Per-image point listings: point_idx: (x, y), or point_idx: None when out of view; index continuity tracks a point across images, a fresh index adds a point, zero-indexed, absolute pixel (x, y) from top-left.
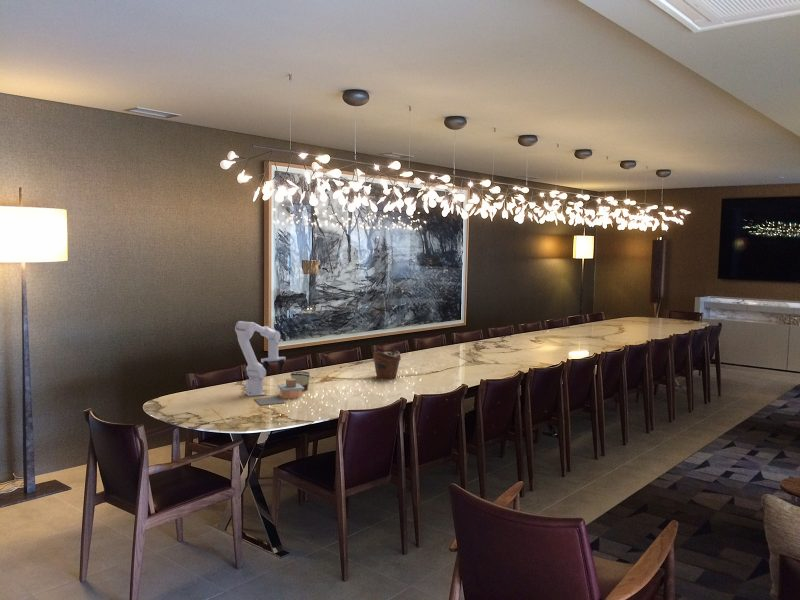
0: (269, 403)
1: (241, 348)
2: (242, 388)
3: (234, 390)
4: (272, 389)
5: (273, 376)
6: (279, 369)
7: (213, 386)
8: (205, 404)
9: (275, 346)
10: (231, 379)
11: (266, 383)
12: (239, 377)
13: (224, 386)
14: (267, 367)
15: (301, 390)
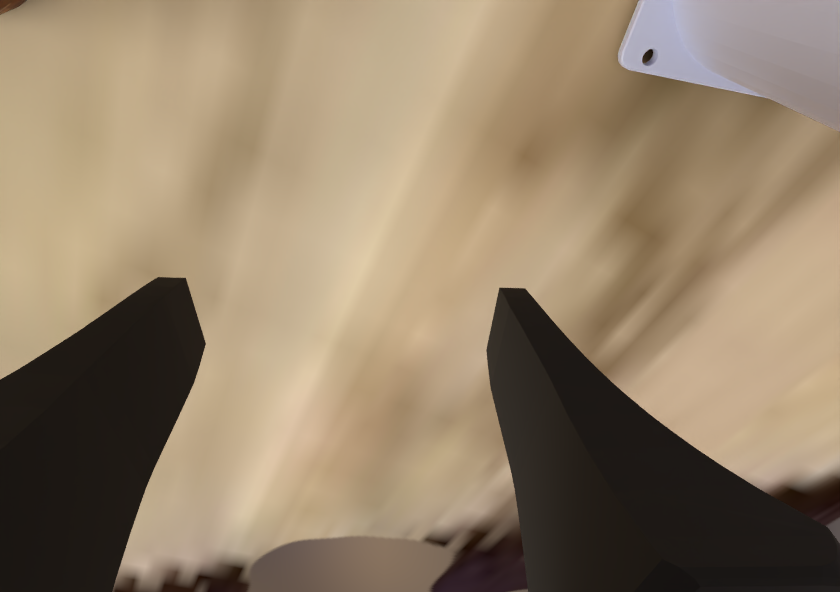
0: None
1: None
2: (655, 344)
3: (782, 308)
4: (390, 141)
5: (213, 544)
6: (147, 358)
7: (768, 475)
8: None
9: None
10: (524, 560)
11: (342, 412)
12: (450, 577)
13: (711, 451)
14: (606, 415)
15: None
